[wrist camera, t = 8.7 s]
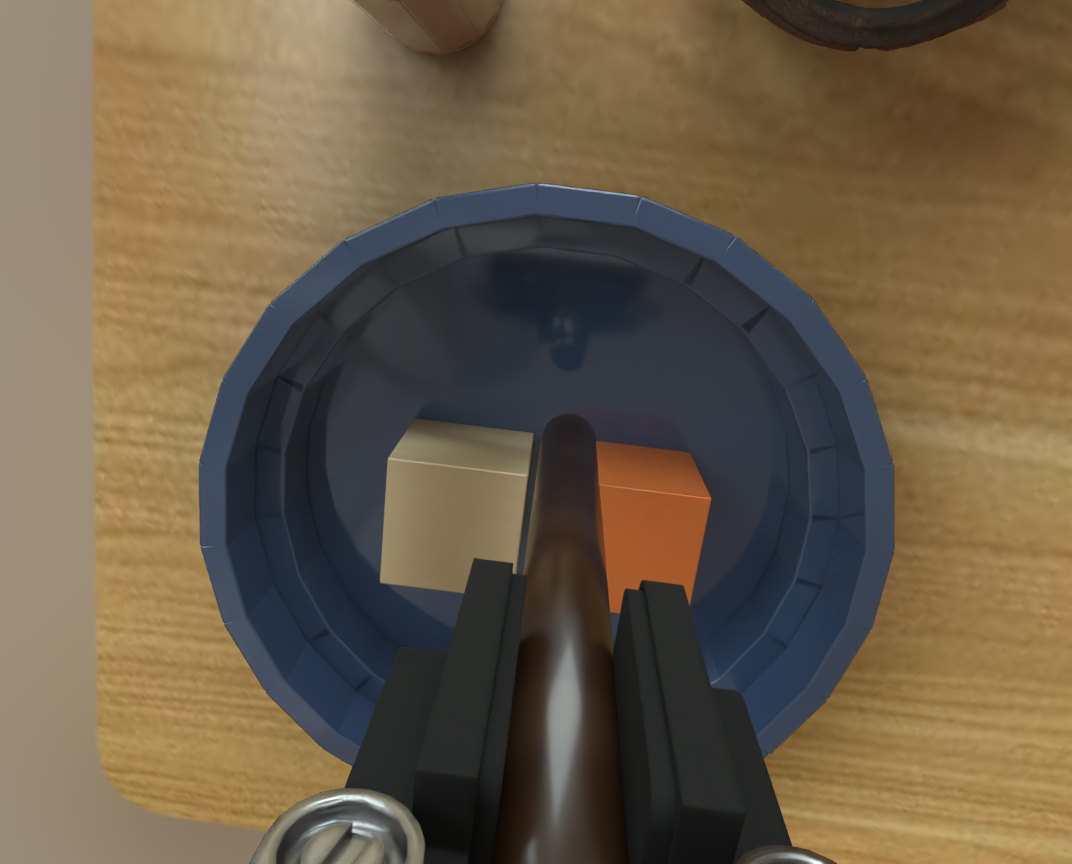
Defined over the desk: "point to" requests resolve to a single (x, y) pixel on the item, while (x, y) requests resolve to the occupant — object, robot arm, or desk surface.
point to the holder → (433, 22)
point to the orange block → (650, 517)
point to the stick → (564, 674)
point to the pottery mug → (873, 21)
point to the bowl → (528, 405)
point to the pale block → (453, 502)
